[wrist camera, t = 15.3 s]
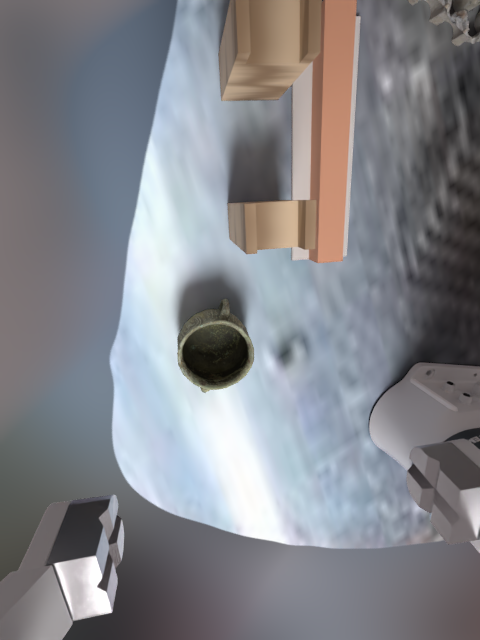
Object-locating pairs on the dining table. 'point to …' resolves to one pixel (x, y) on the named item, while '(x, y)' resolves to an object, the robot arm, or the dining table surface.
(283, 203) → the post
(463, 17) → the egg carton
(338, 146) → the rail
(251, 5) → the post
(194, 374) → the vessel
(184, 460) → the dining table surface
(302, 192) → the mat
